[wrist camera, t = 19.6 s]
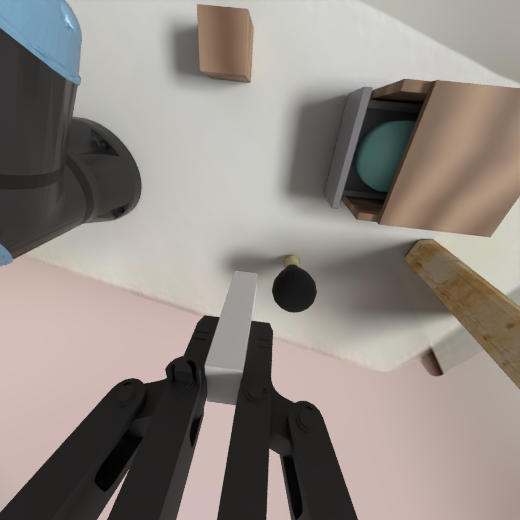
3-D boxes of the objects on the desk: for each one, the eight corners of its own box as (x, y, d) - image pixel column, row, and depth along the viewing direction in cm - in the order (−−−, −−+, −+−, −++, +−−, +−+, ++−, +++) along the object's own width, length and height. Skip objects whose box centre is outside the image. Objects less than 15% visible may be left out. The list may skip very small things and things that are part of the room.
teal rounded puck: (403, 187, 32) (415, 193, 29) (347, 183, 33) (353, 189, 30) (427, 122, 28) (444, 122, 25) (363, 119, 28) (372, 118, 25)
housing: (342, 200, 35) (358, 221, 28) (374, 89, 28) (408, 77, 20) (444, 212, 35) (490, 237, 27) (504, 103, 27) (591, 95, 20)
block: (212, 78, 29) (199, 70, 24) (210, 23, 26) (197, 4, 22) (250, 82, 28) (245, 75, 24) (253, 27, 26) (248, 9, 22)
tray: (324, 194, 35) (331, 208, 29) (348, 93, 28) (364, 86, 22) (440, 207, 34) (470, 223, 29) (492, 108, 27) (546, 105, 22)
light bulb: (273, 244, 40) (270, 285, 30) (311, 243, 40) (321, 285, 29) (274, 274, 44) (272, 320, 34) (309, 274, 43) (317, 321, 33)
